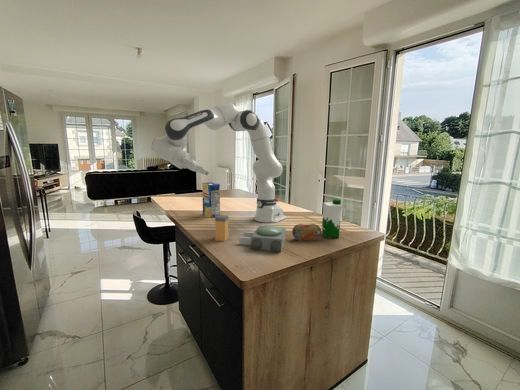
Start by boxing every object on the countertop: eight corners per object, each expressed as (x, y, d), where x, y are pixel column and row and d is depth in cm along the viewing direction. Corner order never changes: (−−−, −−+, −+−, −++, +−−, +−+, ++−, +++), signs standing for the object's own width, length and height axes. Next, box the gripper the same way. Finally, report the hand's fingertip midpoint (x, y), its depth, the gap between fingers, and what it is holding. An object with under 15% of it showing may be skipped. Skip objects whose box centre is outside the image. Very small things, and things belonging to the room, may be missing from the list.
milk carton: (341, 238, 139) (344, 201, 135) (324, 238, 138) (327, 201, 134) (335, 233, 147) (338, 198, 144) (319, 233, 147) (322, 198, 143)
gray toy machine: (236, 248, 122) (236, 232, 120) (246, 234, 141) (246, 221, 140) (280, 252, 118) (281, 236, 117) (285, 238, 137) (286, 224, 136)
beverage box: (211, 218, 171) (210, 185, 167) (202, 214, 179) (202, 183, 175) (220, 216, 175) (219, 184, 171) (211, 213, 183) (211, 182, 179)
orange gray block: (215, 240, 132) (215, 217, 129) (218, 236, 136) (218, 214, 134) (225, 241, 131) (225, 217, 128) (228, 237, 135) (228, 215, 133)
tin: (292, 240, 134) (293, 224, 132) (291, 238, 137) (292, 223, 135) (321, 240, 135) (322, 224, 134) (319, 238, 138) (320, 223, 137)
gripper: (179, 151, 120) (206, 166, 120) (189, 156, 140) (212, 169, 141) (173, 163, 120) (199, 178, 120) (184, 166, 140) (206, 179, 141)
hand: (206, 173), depth 131 cm, fingers open, 8 cm apart
